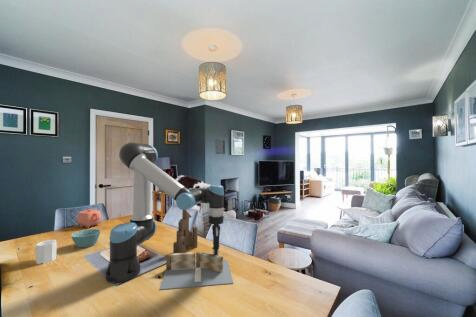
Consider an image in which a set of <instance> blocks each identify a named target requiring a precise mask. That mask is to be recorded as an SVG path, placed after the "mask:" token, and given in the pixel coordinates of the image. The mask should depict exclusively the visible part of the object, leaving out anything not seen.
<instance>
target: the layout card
mask: <svg viewBox="0 0 476 317" xmlns="http://www.w3.org/2000/svg"><path fill="white" fill-rule="evenodd" d="M231 284H234V280H233V276H232V271H231V267H230V262H229V260H228V259H225V260H224V259H223V271H222V272H217V271H213V270H208V269H204V268H197V267H196V261H195V267H194V268H181V269H171V270H166V269H165V272H164V276H163V278H162V281H161V284H160V287H159V291H162V290H163V291H164V290H165V291H166V290H173V289H174V290H175V289H187V288H196V287H198V288H199V287H209V286H211V287H212V286H219V285H231Z"/></svg>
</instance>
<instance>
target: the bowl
mask: <svg viewBox="0 0 476 317" xmlns="http://www.w3.org/2000/svg"><path fill="white" fill-rule="evenodd" d="M101 231H102V230H101V229H99V228H87V229H84V230H80V231H77V232H76V231H75V232H74V233H72V234H71V235H70V237H71V239H72V241H73V243H74V245H75V247H77V248H78V249H83V248H84V249H85V248H88V247H89V248H90V247H92V246H94V245H95V244H96V243H97V242H98V239H99V237H100V234H101Z"/></svg>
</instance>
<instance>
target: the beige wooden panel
mask: <svg viewBox="0 0 476 317" xmlns="http://www.w3.org/2000/svg"><path fill="white" fill-rule="evenodd" d="M201 253H202V252H201V251H197V252H195V251H193V252H192V251H191V252H185V253H167V254H166V259H165V260H166V262H165V263H166V264H165V267H166V268H165V271H166V270H171V269H181V268H194V267H195V262H196V267H197V268H200V254H201Z"/></svg>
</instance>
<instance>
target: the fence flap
mask: <svg viewBox="0 0 476 317" xmlns="http://www.w3.org/2000/svg"><path fill="white" fill-rule="evenodd" d="M223 260H224V255H214V254H213V253H207V252H203V251H202V252H201V254H200V268H204V269H208V270H213V271H217V272H222V271H223Z"/></svg>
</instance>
